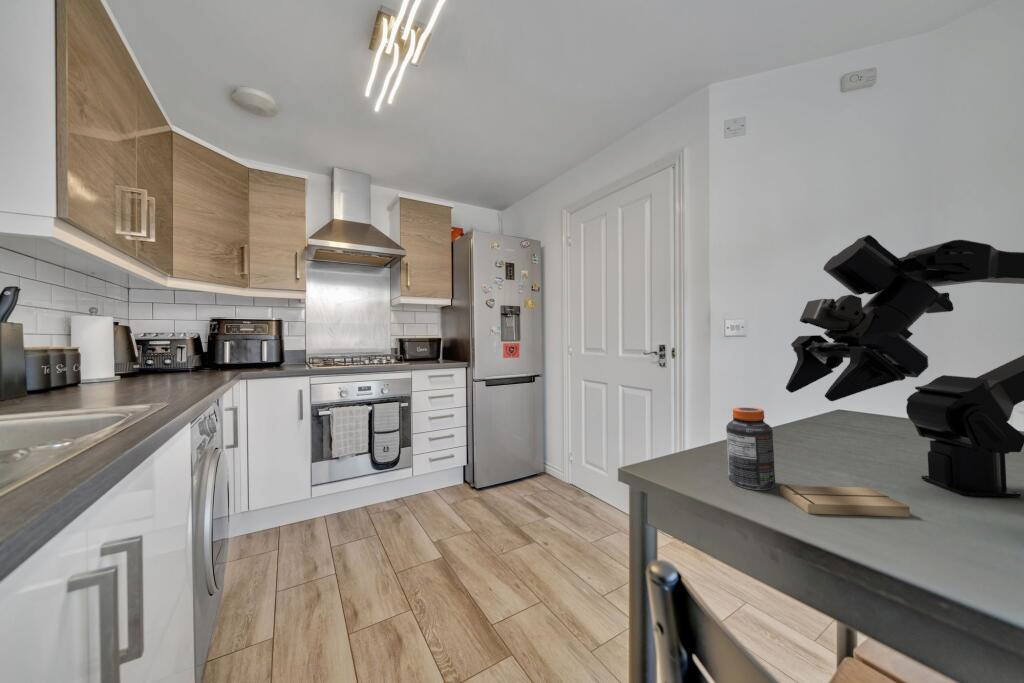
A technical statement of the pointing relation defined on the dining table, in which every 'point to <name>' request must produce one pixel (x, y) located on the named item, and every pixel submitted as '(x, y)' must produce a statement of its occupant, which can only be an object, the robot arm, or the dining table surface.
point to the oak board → (844, 501)
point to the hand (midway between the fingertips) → (806, 394)
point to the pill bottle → (750, 450)
